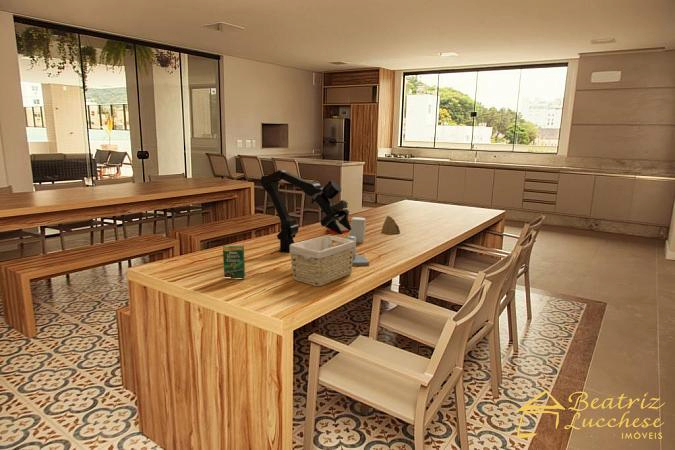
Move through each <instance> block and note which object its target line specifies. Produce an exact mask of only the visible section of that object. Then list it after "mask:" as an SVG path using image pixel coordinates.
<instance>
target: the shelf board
mask: <svg viewBox="0 0 675 450" xmlns="http://www.w3.org/2000/svg"><path fill="white" fill-rule="evenodd" d="M356 266H357V267H358V266H361V267H363V266H370V262H369V260H368V259H367V258H366V256H364V255H363V254H355V259H353V262H352V267H356Z"/></svg>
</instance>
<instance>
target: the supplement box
mask: <svg viewBox="0 0 675 450" xmlns="http://www.w3.org/2000/svg"><path fill="white" fill-rule="evenodd" d="M366 219H367V218H366V217H355V216H353V217H352V218H351V219H350V226H351V230H350V232H349V233H350V235H349V236H355V237H356V243H360V244H363V243H364V241H365V238H366V236H365V235H366Z"/></svg>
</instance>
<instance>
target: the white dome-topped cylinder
mask: <svg viewBox="0 0 675 450" xmlns="http://www.w3.org/2000/svg"><path fill="white" fill-rule="evenodd" d="M345 239H349V240H353V241H354V244H355V247H354V254H353V259H355V255H357V253H356V252H357V249H356V248H357V247H356V246H357V242H356V237H355V236H350V235H347V236H346V238H345Z"/></svg>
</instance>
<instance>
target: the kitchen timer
mask: <svg viewBox="0 0 675 450" xmlns="http://www.w3.org/2000/svg"><path fill="white" fill-rule="evenodd" d="M342 210H343V209H342ZM336 223H337V225H338V226H339V228H340V230H341V231H342V234H347V233H350V231H351V230H348V229H347V228H345V227H344V226H343V225H341V224H340V223H339V221H338V220H336ZM326 231H327V233H331V234H332V233H333V234H337V233H336V232H335V231H333V230H331V229H328V228H326Z"/></svg>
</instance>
